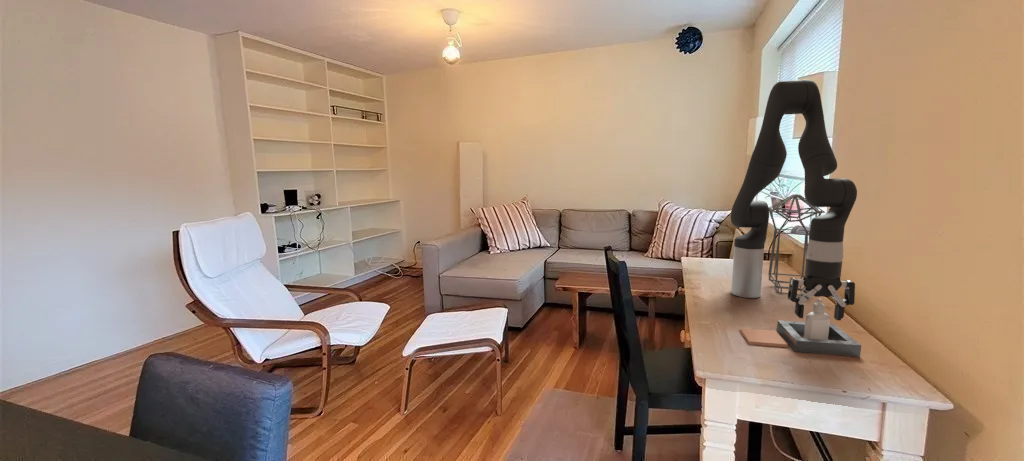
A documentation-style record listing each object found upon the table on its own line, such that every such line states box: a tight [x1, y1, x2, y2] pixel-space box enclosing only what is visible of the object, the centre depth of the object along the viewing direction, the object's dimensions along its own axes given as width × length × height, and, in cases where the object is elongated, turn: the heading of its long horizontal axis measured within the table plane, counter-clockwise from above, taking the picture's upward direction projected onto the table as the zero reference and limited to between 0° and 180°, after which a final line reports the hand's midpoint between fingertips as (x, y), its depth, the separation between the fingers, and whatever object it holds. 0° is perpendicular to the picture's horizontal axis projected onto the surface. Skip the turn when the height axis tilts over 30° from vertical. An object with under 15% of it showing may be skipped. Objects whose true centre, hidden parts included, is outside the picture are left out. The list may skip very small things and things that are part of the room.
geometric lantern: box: [768, 193, 826, 296], centre depth 156 cm, size 16×16×35 cm
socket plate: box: [776, 319, 862, 358], centre depth 115 cm, size 14×14×3 cm
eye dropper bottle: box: [803, 298, 831, 340], centre depth 114 cm, size 4×6×12 cm
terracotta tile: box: [739, 328, 789, 348], centre depth 118 cm, size 9×9×1 cm
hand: (818, 318), depth 114 cm, fingers open, 8 cm apart
